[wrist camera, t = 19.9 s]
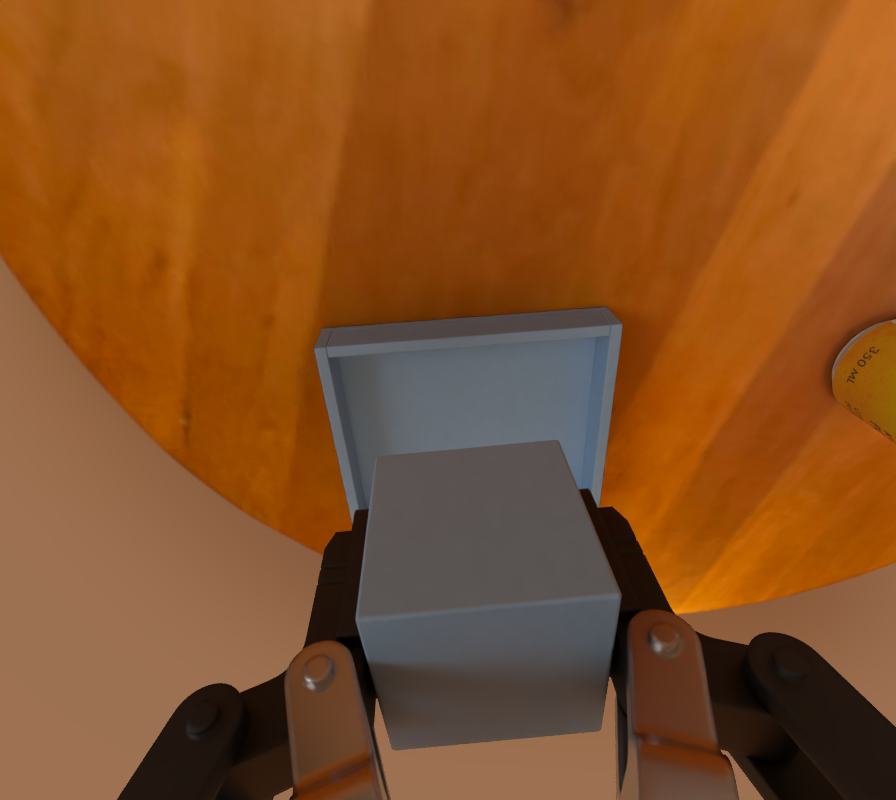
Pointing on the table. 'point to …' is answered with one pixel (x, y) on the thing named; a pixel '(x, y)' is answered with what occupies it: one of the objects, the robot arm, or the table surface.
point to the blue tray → (471, 388)
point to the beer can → (869, 377)
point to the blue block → (484, 597)
